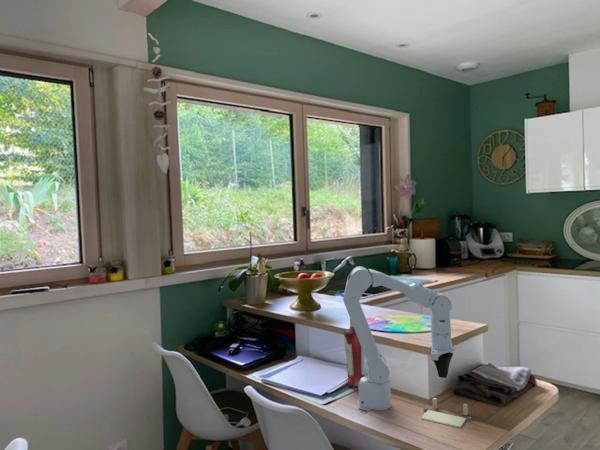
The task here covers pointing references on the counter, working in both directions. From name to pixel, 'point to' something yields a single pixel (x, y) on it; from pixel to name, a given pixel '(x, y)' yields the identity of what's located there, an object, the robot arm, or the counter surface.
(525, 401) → the counter surface
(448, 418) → the tile
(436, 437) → the counter surface
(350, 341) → the liquor
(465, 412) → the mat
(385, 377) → the robot arm
